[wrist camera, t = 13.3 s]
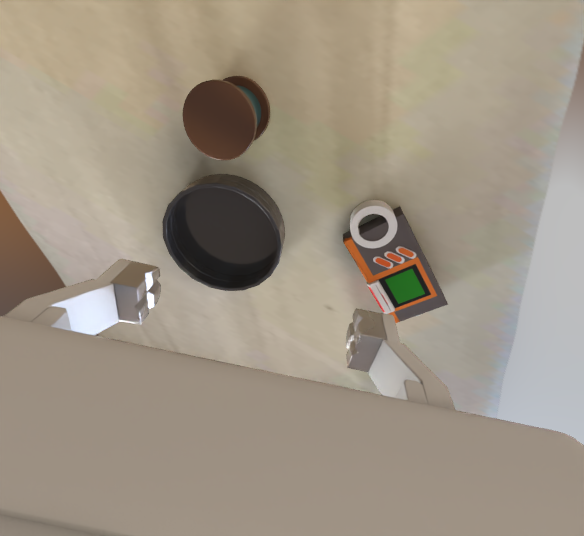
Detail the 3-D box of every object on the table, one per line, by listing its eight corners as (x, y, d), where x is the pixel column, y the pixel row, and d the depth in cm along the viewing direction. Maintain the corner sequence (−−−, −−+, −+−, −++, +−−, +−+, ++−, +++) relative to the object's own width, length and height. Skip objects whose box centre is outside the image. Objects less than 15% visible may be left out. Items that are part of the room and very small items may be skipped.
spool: (265, 147, 32) (250, 167, 26) (210, 135, 32) (182, 152, 26) (274, 83, 29) (259, 89, 23) (212, 69, 29) (182, 72, 23)
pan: (275, 284, 41) (271, 300, 38) (175, 263, 41) (164, 277, 38) (294, 188, 34) (291, 199, 31) (174, 162, 34) (160, 170, 31)
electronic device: (393, 194, 31) (449, 308, 36) (389, 185, 33) (443, 293, 39) (330, 226, 33) (392, 329, 39) (331, 215, 36) (389, 313, 41)
